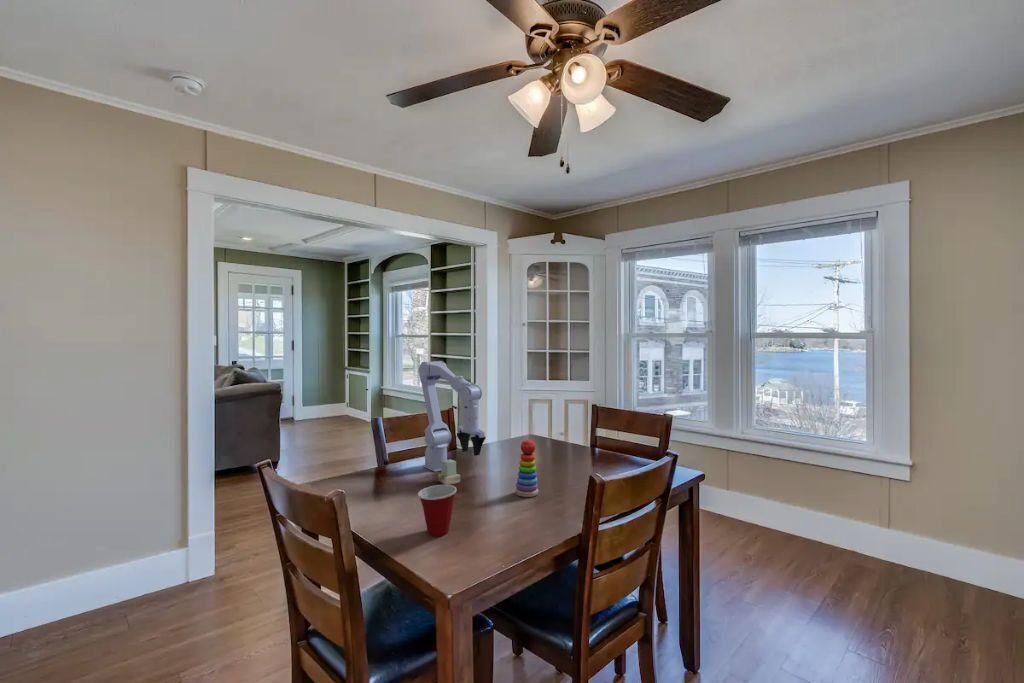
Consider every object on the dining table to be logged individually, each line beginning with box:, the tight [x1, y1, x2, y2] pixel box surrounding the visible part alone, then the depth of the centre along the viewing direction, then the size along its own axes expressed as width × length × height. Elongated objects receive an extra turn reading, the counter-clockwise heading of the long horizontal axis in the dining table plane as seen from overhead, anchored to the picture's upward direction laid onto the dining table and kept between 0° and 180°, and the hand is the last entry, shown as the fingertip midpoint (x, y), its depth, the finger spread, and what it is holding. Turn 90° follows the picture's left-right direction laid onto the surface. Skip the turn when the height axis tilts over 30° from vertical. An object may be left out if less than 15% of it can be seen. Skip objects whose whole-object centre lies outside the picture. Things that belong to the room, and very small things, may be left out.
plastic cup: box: [417, 484, 457, 538], centre depth 130 cm, size 11×11×12 cm
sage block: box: [440, 458, 457, 477], centre depth 174 cm, size 4×4×5 cm
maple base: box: [437, 472, 461, 485], centre depth 174 cm, size 6×6×3 cm
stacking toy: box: [515, 439, 540, 498], centre depth 160 cm, size 8×8×19 cm
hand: (470, 453), depth 177 cm, fingers open, 7 cm apart
